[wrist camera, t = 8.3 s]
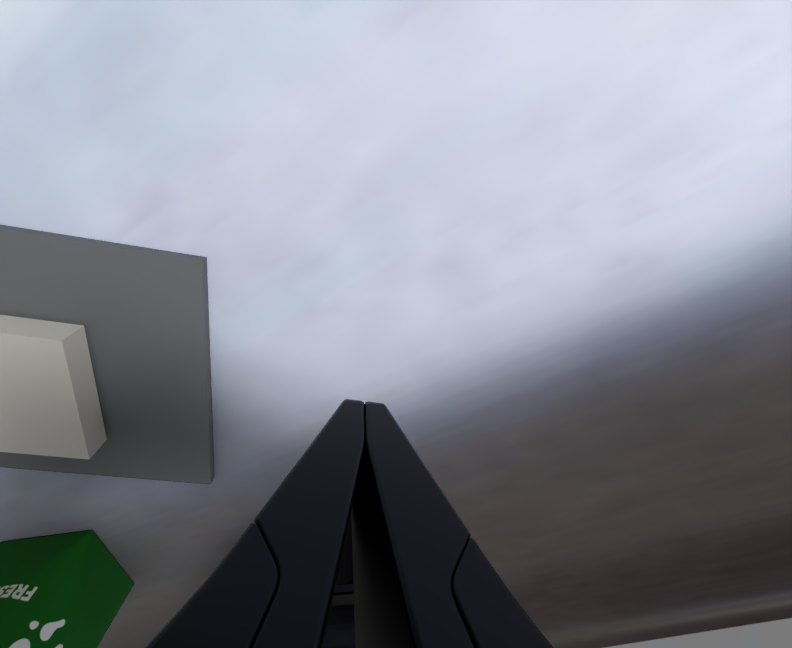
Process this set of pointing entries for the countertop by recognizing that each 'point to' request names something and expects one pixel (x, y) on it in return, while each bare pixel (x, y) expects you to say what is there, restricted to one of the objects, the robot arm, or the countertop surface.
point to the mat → (124, 347)
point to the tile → (47, 390)
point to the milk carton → (58, 591)
